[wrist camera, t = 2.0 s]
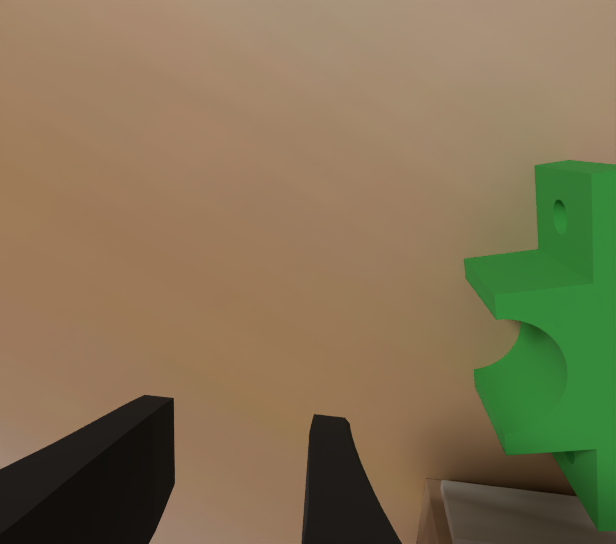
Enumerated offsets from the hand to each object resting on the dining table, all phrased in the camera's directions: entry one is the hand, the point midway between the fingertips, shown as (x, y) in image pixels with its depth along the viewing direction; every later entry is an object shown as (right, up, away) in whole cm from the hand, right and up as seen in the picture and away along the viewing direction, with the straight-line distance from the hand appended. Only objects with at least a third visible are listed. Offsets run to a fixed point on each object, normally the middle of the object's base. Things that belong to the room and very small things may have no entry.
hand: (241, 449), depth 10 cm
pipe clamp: (+9, +2, +9) cm, 13 cm away
